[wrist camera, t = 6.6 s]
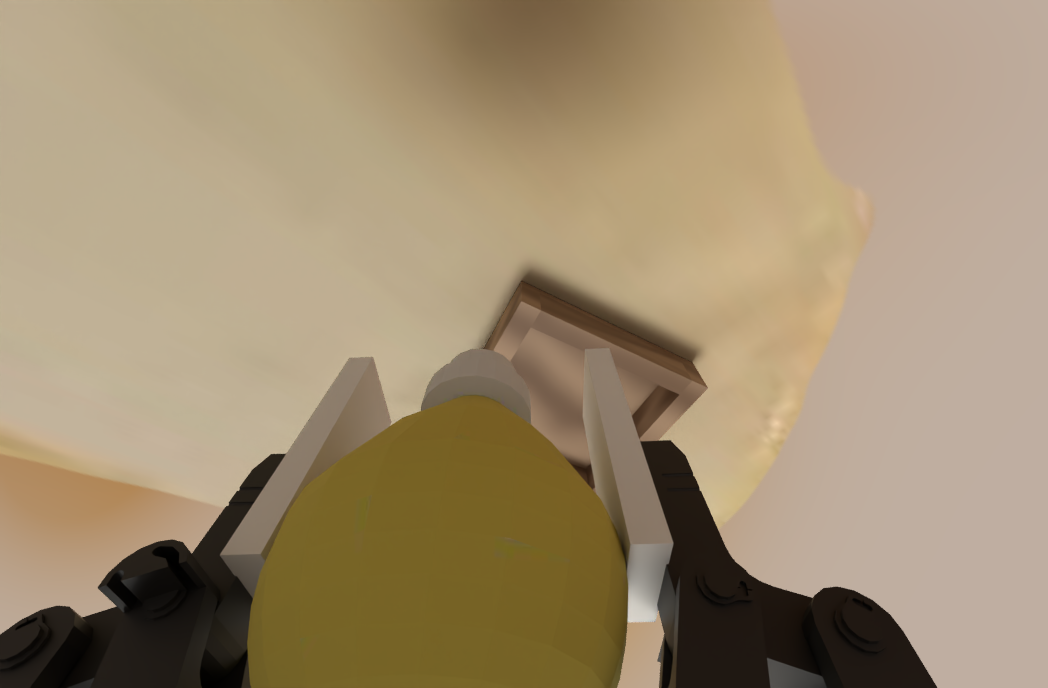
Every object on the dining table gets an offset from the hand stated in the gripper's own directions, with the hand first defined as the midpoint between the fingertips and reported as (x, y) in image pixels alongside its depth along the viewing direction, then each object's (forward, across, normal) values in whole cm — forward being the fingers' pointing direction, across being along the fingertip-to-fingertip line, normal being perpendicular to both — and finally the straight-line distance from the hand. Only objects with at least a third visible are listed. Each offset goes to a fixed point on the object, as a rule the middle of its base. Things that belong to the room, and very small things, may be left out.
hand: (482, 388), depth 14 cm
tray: (+18, +4, -15) cm, 23 cm away
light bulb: (0, 0, 0) cm, 1 cm away
